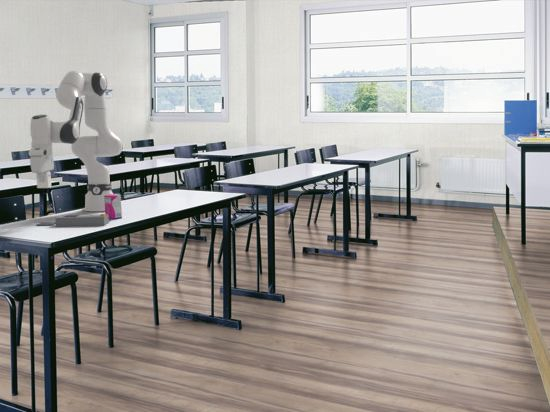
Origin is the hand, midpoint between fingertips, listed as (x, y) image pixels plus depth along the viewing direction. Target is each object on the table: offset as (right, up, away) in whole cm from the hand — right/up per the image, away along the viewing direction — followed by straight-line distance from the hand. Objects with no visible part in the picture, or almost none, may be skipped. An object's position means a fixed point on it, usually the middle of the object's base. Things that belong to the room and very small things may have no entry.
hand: (44, 181), depth 300 cm
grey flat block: (+17, -19, +5) cm, 26 cm away
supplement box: (+27, -17, +19) cm, 37 cm away
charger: (0, -3, 0) cm, 3 cm away
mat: (0, -20, +3) cm, 20 cm away
